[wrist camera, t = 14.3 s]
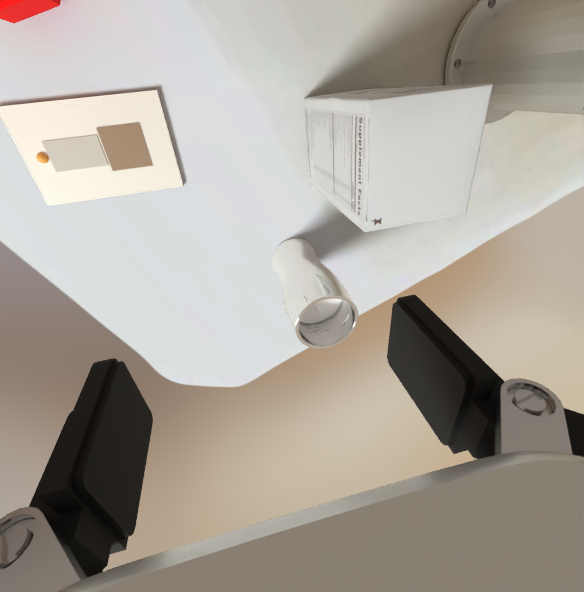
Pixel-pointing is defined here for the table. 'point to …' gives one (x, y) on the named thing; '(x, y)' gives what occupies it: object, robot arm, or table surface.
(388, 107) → the supplement box
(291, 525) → the robot arm
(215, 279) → the table surface
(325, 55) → the table surface
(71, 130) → the card
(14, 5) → the ball
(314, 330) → the beer glass
